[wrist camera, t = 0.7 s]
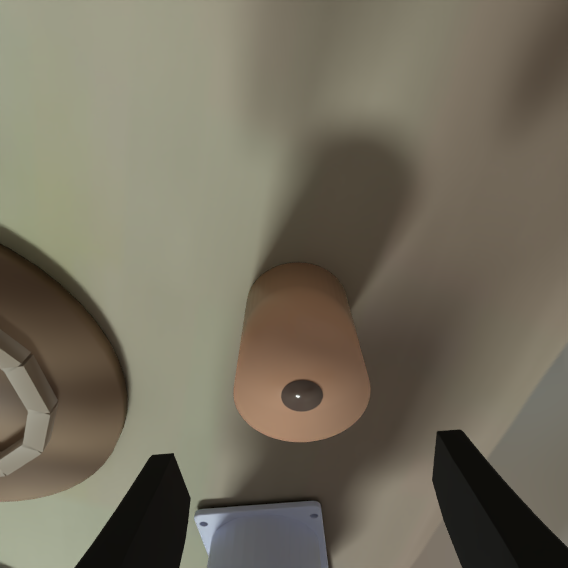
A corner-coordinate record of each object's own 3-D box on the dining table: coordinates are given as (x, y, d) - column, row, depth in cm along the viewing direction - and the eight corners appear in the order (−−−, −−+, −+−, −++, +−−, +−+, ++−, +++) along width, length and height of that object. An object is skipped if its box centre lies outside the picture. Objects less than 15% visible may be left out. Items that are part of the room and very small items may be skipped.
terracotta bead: (349, 343, 19) (371, 437, 14) (254, 351, 20) (245, 448, 15) (345, 256, 17) (370, 334, 12) (238, 268, 17) (221, 349, 12)
